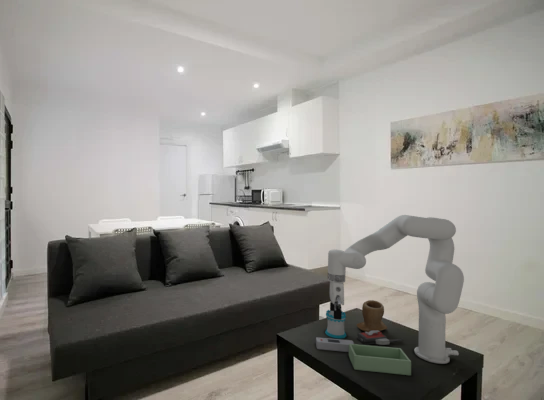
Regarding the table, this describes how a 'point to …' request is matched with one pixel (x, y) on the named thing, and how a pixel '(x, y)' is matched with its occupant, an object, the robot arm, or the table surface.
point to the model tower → (335, 325)
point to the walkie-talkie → (375, 338)
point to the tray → (379, 359)
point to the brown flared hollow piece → (372, 316)
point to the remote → (333, 344)
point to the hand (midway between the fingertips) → (335, 314)
